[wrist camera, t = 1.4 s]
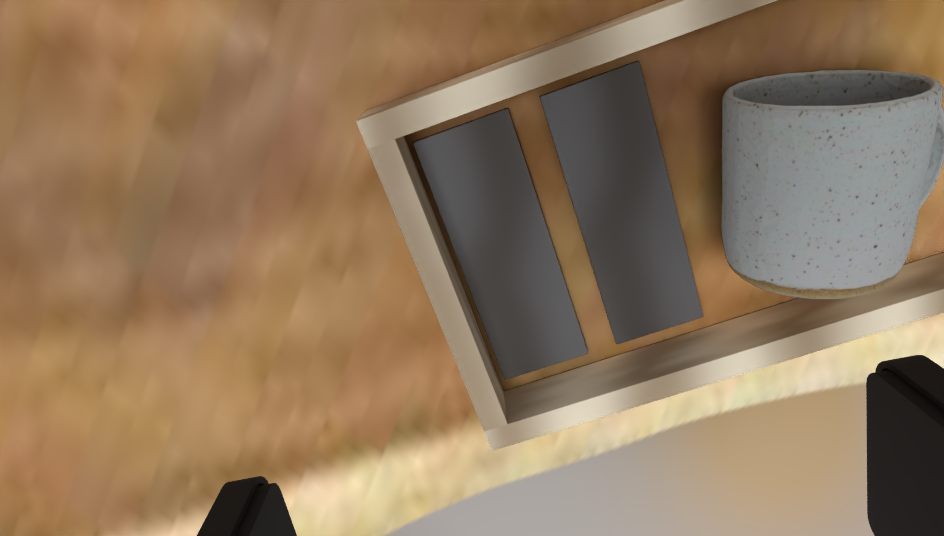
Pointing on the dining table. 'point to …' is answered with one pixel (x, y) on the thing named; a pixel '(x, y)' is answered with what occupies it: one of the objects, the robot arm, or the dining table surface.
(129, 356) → the dining table surface
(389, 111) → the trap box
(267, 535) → the robot arm
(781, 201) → the ceramic mug
